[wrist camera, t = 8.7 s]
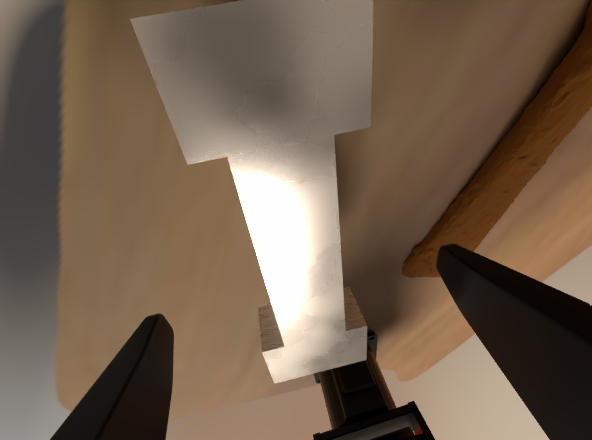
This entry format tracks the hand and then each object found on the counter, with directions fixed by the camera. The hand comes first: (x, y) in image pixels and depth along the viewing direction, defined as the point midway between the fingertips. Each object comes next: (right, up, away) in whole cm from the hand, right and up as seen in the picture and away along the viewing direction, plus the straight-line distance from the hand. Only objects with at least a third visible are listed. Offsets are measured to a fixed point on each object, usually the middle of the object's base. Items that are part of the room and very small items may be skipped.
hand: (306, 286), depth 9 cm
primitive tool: (+13, +5, +10) cm, 18 cm away
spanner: (-1, +2, +3) cm, 3 cm away
